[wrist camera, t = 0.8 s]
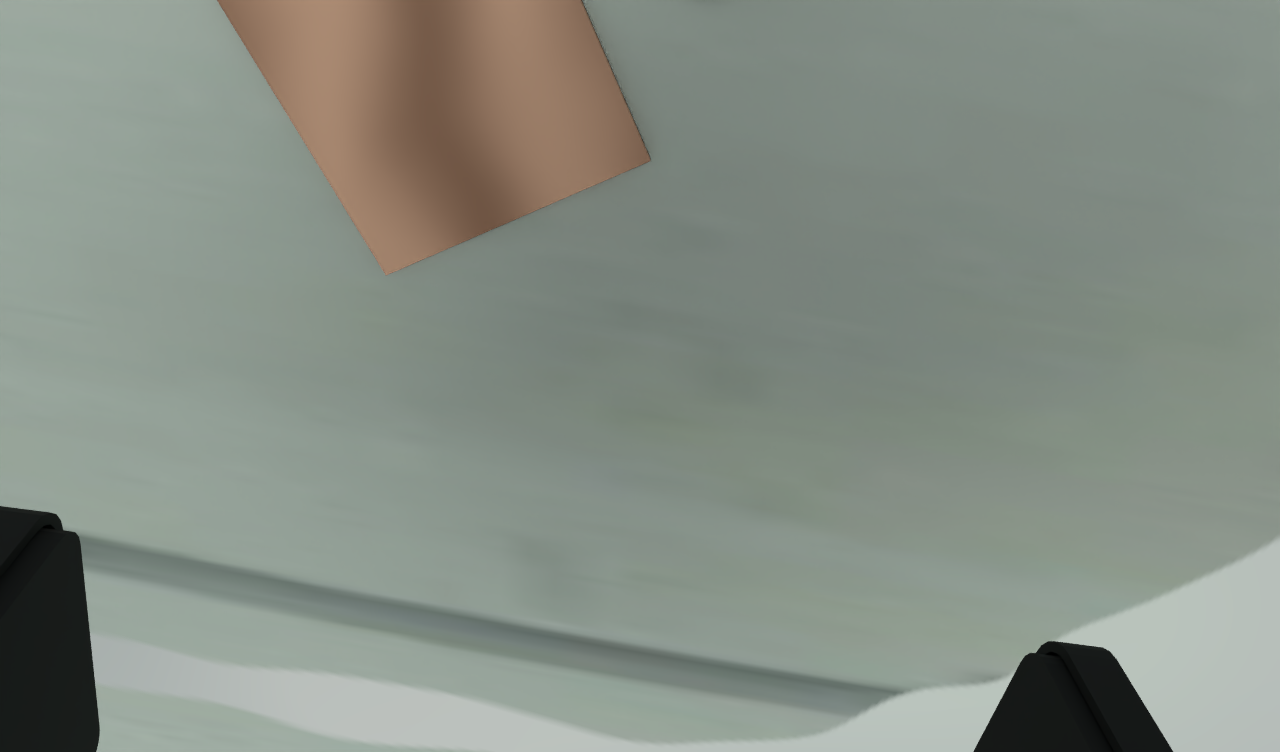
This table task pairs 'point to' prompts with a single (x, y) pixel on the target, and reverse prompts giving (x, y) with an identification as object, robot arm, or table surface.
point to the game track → (443, 109)
